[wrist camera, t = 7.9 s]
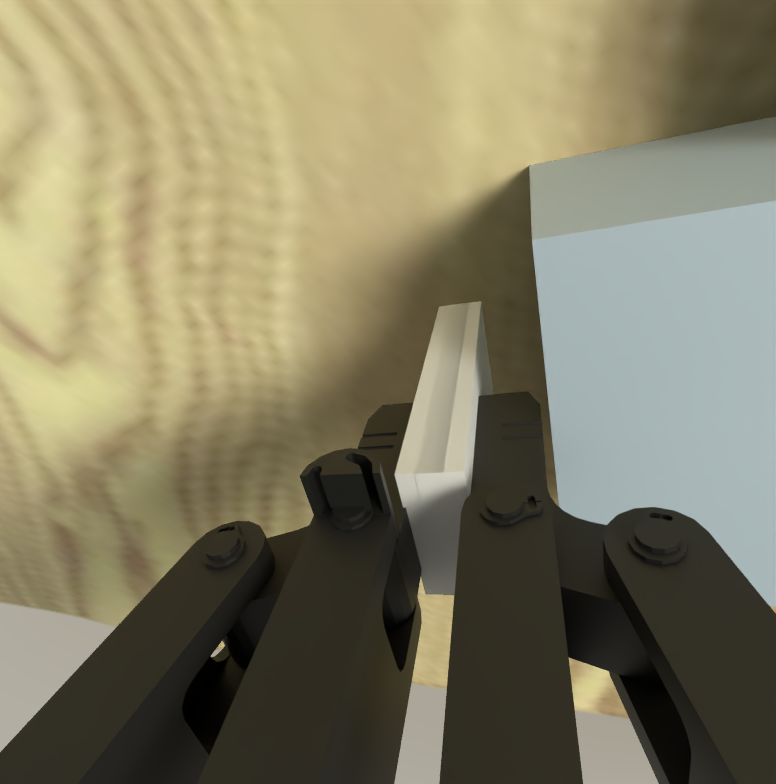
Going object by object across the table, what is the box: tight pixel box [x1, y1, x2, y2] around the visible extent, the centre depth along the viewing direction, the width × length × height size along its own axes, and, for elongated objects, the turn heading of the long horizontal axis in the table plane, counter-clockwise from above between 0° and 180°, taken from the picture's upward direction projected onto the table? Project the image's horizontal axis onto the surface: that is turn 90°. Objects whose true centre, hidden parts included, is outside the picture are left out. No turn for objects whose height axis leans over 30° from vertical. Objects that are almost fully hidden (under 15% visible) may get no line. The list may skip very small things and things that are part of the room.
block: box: [529, 116, 776, 606], centre depth 12 cm, size 6×8×6 cm
